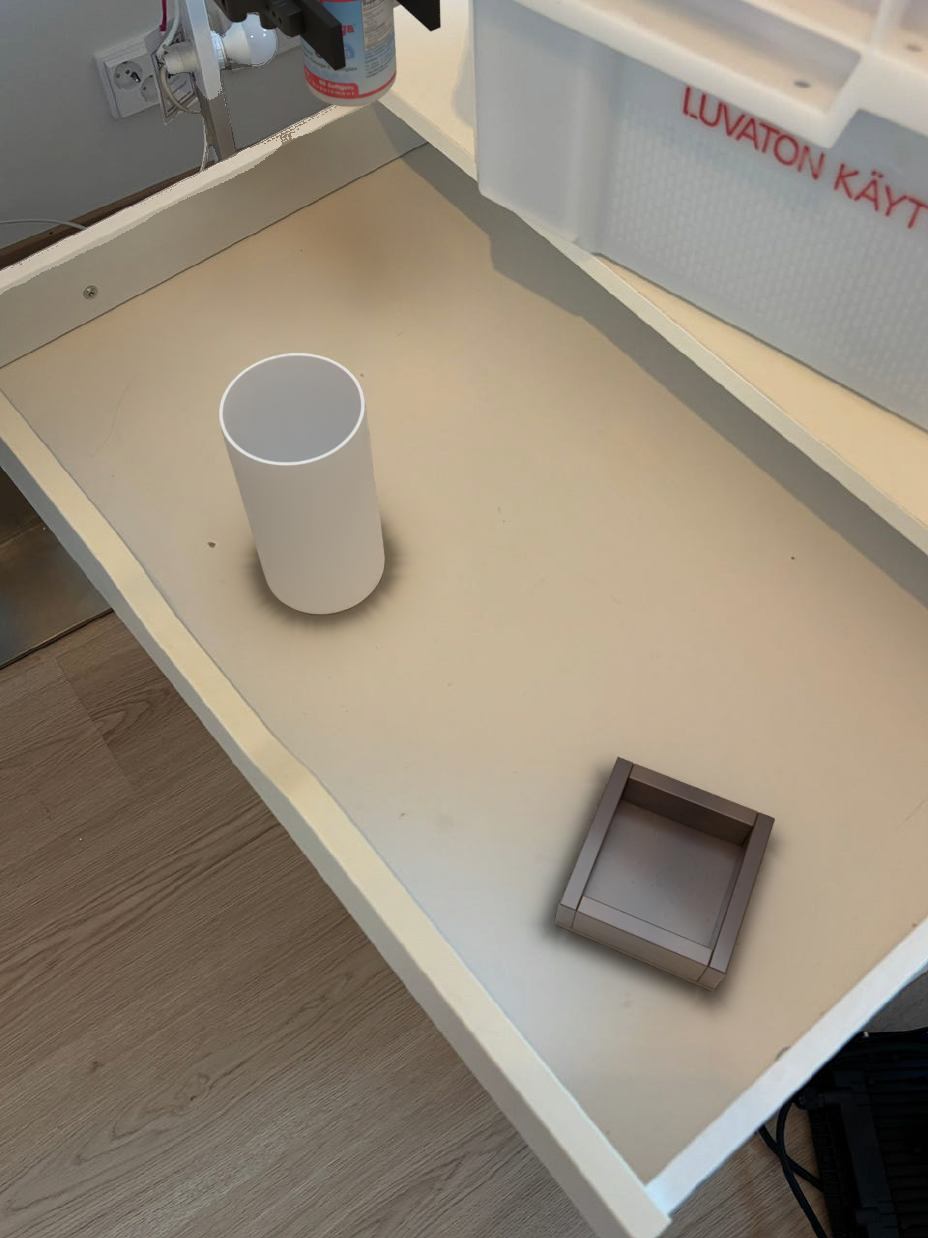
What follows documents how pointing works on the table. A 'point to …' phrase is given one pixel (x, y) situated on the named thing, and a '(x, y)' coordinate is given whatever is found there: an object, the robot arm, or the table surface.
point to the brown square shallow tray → (666, 873)
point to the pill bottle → (356, 54)
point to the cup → (306, 479)
